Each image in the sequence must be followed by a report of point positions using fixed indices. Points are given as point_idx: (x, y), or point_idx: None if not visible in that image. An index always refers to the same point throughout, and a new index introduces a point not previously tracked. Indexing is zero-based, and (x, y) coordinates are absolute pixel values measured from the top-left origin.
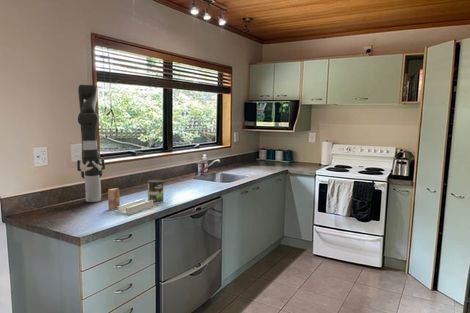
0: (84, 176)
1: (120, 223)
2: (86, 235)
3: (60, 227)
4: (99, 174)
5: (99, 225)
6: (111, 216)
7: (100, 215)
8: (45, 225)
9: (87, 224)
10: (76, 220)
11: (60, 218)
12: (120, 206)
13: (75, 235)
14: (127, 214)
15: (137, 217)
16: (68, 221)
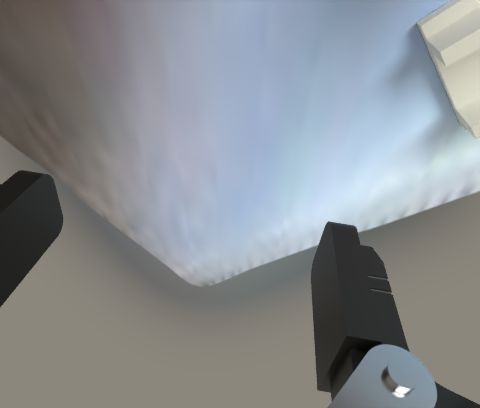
0: (32, 194)
1: None
2: (213, 284)
3: (100, 180)
4: (317, 315)
5: (263, 218)
6: (353, 104)
7: (293, 50)
8: (15, 126)
9: (213, 187)
10: (151, 102)
11: (38, 14)
12: (464, 54)
13: (178, 272)
14: (457, 115)
15: (475, 181)
16: (110, 104)
